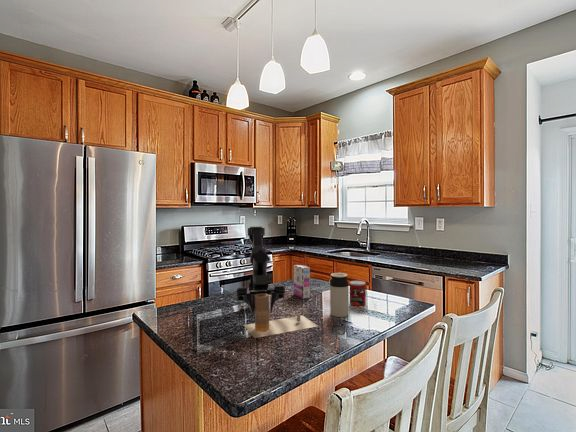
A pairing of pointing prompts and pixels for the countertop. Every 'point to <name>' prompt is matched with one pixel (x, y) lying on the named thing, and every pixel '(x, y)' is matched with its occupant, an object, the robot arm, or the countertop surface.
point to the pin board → (282, 326)
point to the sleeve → (261, 312)
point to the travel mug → (339, 295)
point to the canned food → (358, 293)
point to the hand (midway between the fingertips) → (262, 313)
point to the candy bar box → (302, 281)
